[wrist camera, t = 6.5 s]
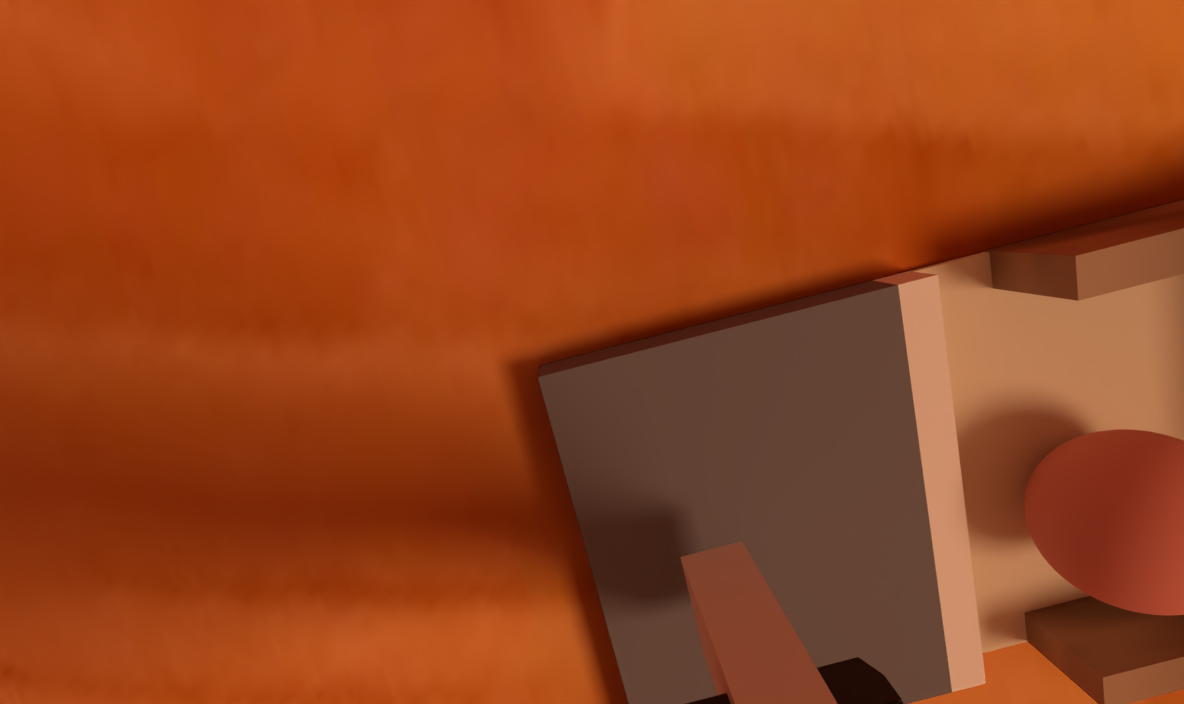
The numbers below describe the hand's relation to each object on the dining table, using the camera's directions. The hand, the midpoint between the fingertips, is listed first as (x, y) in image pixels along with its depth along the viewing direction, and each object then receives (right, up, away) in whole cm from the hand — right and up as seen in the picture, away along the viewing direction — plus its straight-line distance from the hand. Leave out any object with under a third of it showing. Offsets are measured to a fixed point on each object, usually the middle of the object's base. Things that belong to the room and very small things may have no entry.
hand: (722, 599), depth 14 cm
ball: (+10, +2, +1) cm, 11 cm away
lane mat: (+7, +2, +3) cm, 8 cm away
